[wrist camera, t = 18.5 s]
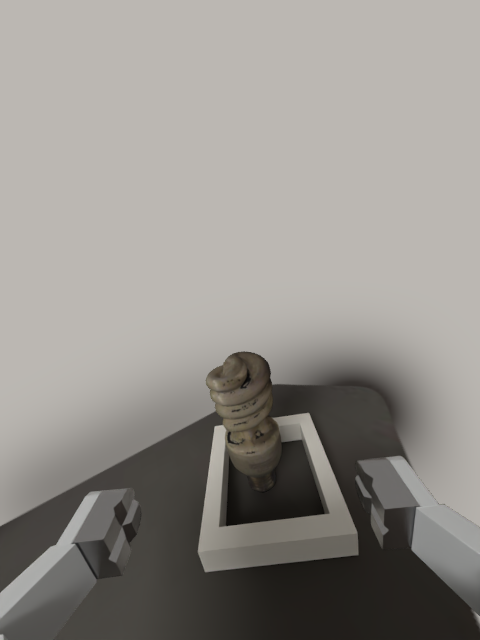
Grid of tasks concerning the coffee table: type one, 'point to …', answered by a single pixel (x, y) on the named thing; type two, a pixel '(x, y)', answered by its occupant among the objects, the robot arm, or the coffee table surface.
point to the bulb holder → (279, 535)
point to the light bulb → (248, 416)
